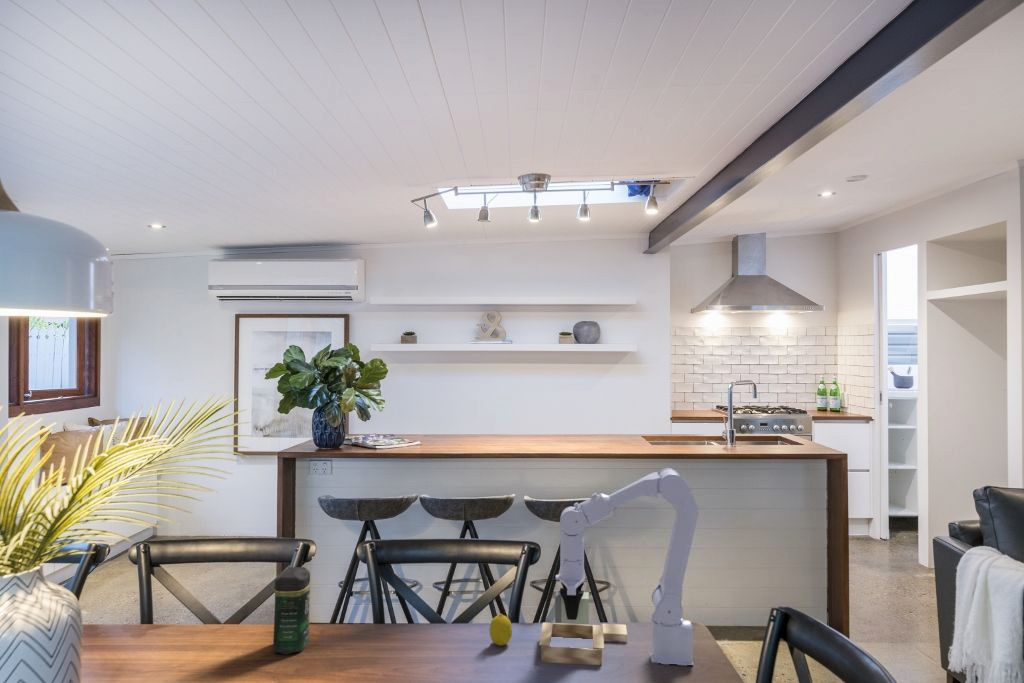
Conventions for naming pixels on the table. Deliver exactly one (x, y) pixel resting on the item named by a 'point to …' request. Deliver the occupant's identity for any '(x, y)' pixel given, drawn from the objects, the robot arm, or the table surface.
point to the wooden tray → (569, 653)
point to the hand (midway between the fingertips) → (572, 614)
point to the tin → (582, 610)
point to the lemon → (500, 630)
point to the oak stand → (614, 632)
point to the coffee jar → (291, 610)
